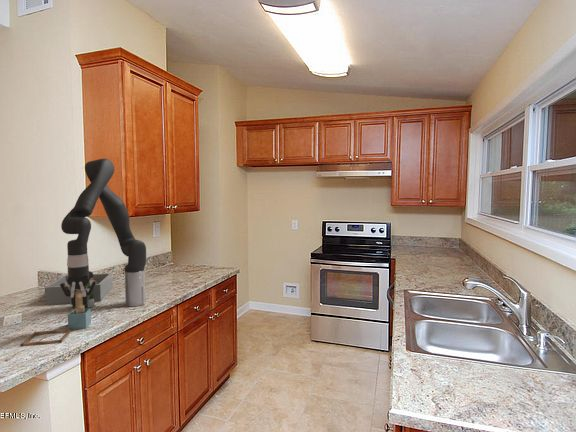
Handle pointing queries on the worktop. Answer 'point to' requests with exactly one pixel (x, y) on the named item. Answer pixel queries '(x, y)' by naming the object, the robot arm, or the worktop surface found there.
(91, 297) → the coffee jar
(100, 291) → the grey open bin
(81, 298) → the dowel
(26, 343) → the tray
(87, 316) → the blue open box
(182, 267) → the worktop surface
